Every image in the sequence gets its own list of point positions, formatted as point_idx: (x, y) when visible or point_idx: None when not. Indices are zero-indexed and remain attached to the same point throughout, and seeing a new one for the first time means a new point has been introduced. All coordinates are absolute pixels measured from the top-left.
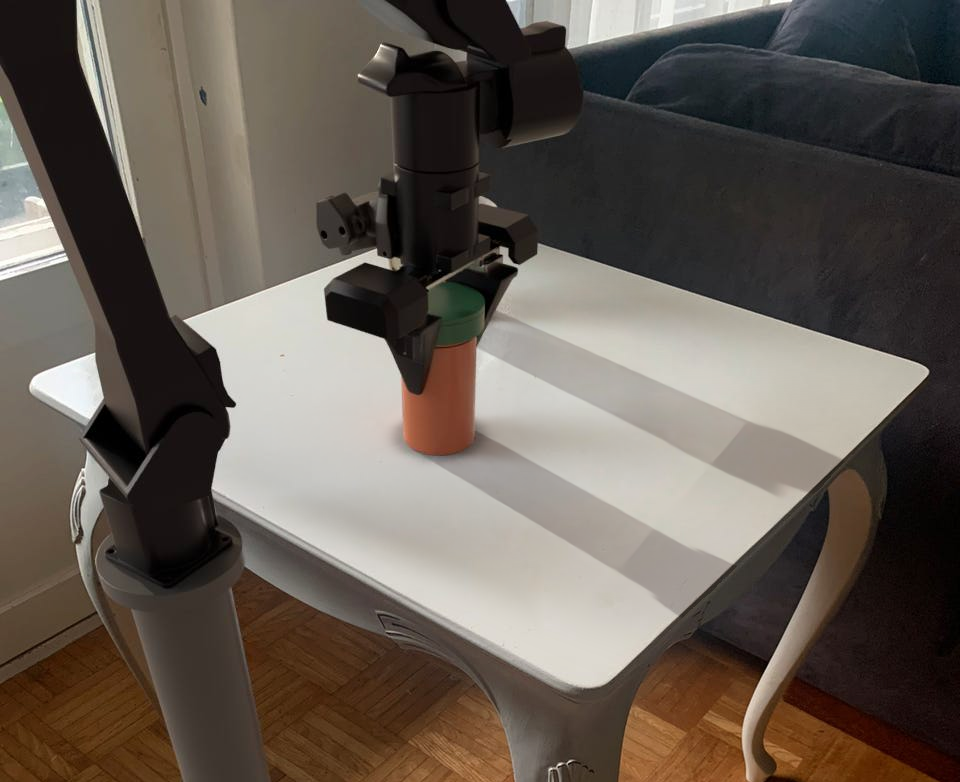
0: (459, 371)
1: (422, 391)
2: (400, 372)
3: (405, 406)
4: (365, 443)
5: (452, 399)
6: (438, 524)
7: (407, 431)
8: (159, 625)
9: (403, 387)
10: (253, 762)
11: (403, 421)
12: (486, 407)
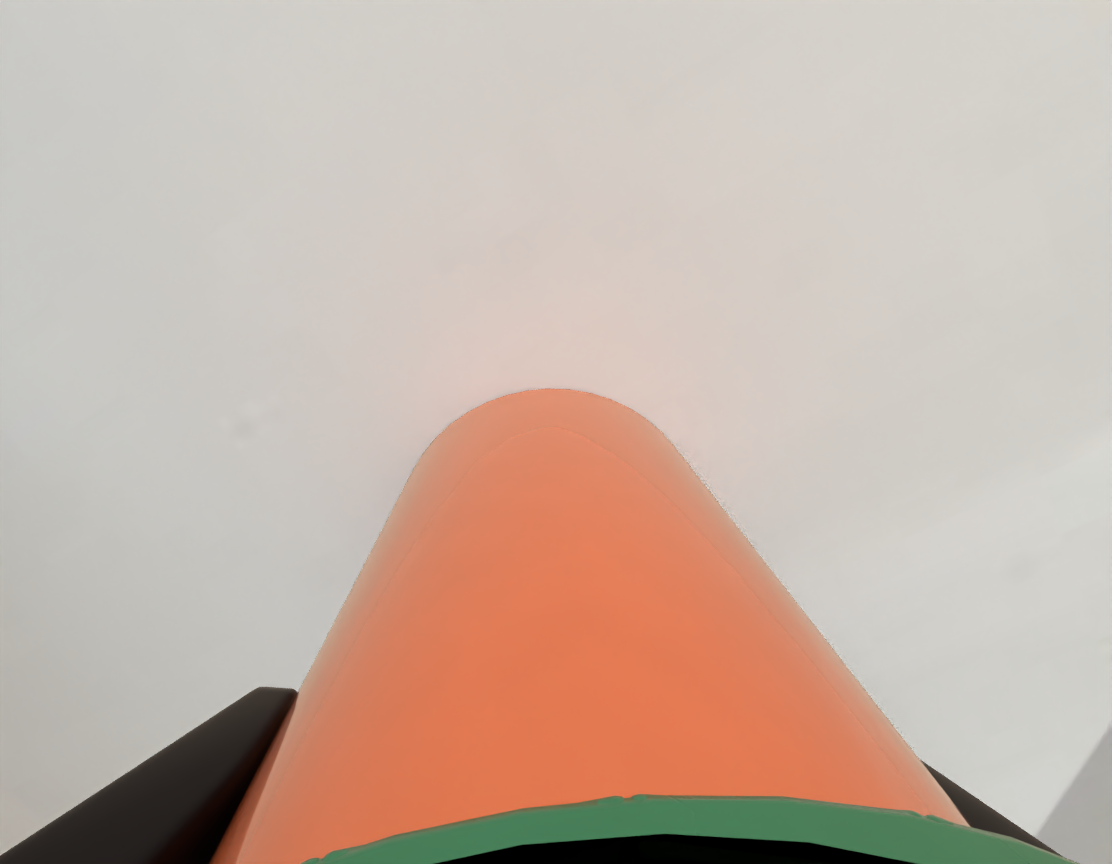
0: None
1: None
2: (110, 789)
3: (380, 535)
4: (330, 286)
5: None
6: (42, 796)
7: (402, 490)
8: None
9: (367, 572)
10: None
11: (431, 458)
12: (853, 587)
